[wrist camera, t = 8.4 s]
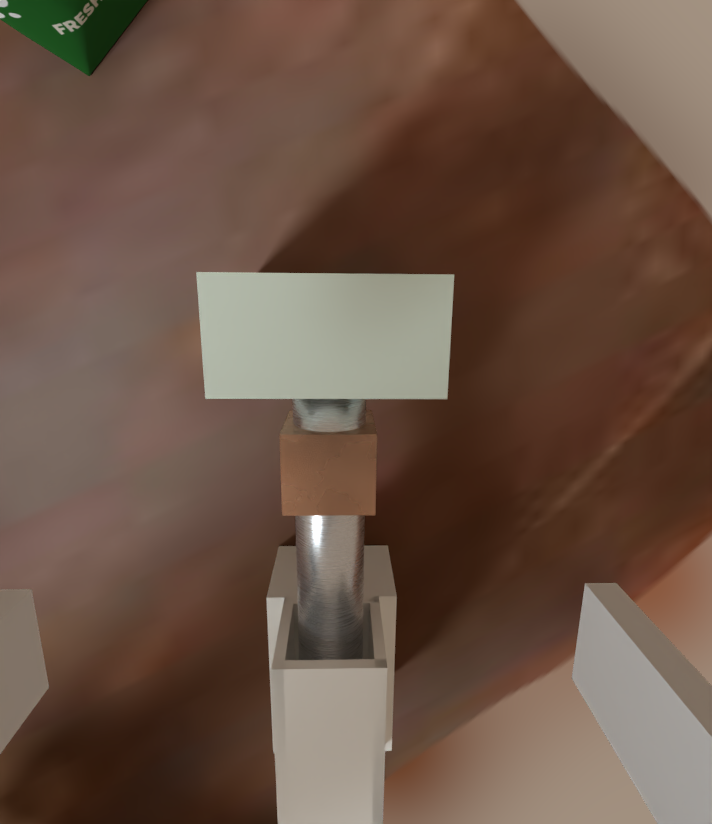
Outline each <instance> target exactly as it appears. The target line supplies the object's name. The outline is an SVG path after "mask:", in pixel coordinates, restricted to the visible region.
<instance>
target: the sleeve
mask: <svg viewBox="0 0 712 824" xmlns="http://www.w3.org/2000/svg"><path fill="white" fill-rule="evenodd" d="M266 599H267V622H268V645H269V668H270V691H271V713H272V736H273V753H275V770H276V794H277V817H278V824H383V802H384V801H383V800H384V768H385V751H392V724H393V694H394V664H395V634H396V604H397V595H396V589H395V584H394V578H393V572H392V567H391V561H390V555H389V549H388V545H373V546H364V598H363V659H351V660H299V640H298V600H297V561H296V546H279V548H278V552H277V556H276V560H275V564H274V569H273V573H272V577H271V581H270V585H269V589H268V593H267V597H266Z"/></svg>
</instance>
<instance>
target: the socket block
mask: <svg viewBox="0 0 712 824" xmlns="http://www.w3.org/2000/svg"><path fill="white" fill-rule="evenodd" d="M196 274H197V288H198V302H199V316H200V330H201V344H202V358H203V372H204V386H205V399H447V395H448V378H449V360H450V342H451V325H452V307H453V289H454V275H451V274H340V273H229V272H196Z"/></svg>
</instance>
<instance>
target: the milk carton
mask: <svg viewBox="0 0 712 824" xmlns="http://www.w3.org/2000/svg"><path fill="white" fill-rule="evenodd" d="M146 2H147V0H0V19H1V20H2V21H4V22H5V23H7V24H8V25H10V26H11V27H13V28H14V29H16V30H17V31H19V32H20V33H22V34H23V35H25V36H26V37H28V38H30V39H31V40H33V41H34V42H36V43H37V44H39V45H41V46H42V47H44V48H45V49H47V50H49V51H50V52H52V53H53V54H55V55H57V56H58V57H60V58H61V59H63V60H65V61H66V62H68V63H69V64H71V65H73V66H74V67H76V68H77V69H79V70H81V71H82V72H84V73H85V74H87V75H88V76H90V75H91V73H92V72H93V71H94V70H95V68H96V67H97V66H98V64H99V63H100V62H101V60H102V59H103V58H104V56H105V55H106V54H107V53H108V51H109V50H110V49H111V47H112V46H113V45H114V43H115V42H116V41H117V40H118V38H119V37H120V36H121V34H122V33H123V32H124V30H125V29H126V28H127V26H128V25H129V24H130V23H131V21H132V20H133V19H134V17H135V16H136V15H137V13H138V12H139V11H140V9H141V8H142V7H143V6H144V4H145V3H146Z"/></svg>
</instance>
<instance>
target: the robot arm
mask: <svg viewBox="0 0 712 824" xmlns="http://www.w3.org/2000/svg"><path fill="white" fill-rule="evenodd" d="M572 679H573V681H574V683H575V685H576V686H577V688H578V690H579V691H580V693H581V695H582V697H583V698H584V700H585V702H586V703H587V705H588V707H589V708H590V710H591V712H592V714H593V715H594V717H595V719H596V720H597V722H598V724H599V725H600V727H601V729H602V731H603V732H604V734H605V736H606V737H607V739H608V741H609V742H610V744H611V746H612V747H613V749H614V751H615V753H616V754H617V756H618V757H619V759H620V761H621V763H622V764H623V766H624V768H625V769H626V771H627V773H628V775H629V776H630V778H631V780H632V781H633V783H634V785H635V786H636V788H637V790H638V791H639V793H640V795H641V796H642V798H643V800H644V802H645V803H646V805H647V807H648V809H649V810H650V812H651V814H652V815H653V817H654V819H655V820H656V822H657V824H712V686H711V685H710V683H709V682H708V681H707V680H706V679H705V678H704V677H703V676H702V675H701V674H700V673H699V672H698V670H697V669H696V668H695V667H694V666H693V665H692V664H691V663H690V662H689V661H688V660H687V659H686V658H685V656H684V655H683V654H682V653H681V652H680V651H679V650H678V649H677V648H676V647H675V646H674V645H673V644H672V642H671V641H669V639H668V638H667V637H666V636H665V635H664V634H663V633H662V632H661V631H660V630H659V628H658V627H657V626H656V625H655V624H654V623H653V622H652V621H651V620H650V619H649V618H648V617H647V616H646V614H644V613H643V611H642V610H641V609H640V608H639V607H638V606H637V605H636V604H635V603H634V602H633V601H632V599H631V598H630V597H629V596H628V595H627V594H626V593H625V592H624V591H623V590H622V589H621V588H620V587H619V585H618V584H617V583H585V588H584V595H583V602H582V609H581V616H580V623H579V630H578V638H577V645H576V652H575V659H574V667H573V673H572ZM48 688H49V685H48V679H47V673H46V668H45V662H44V657H43V651H42V645H41V640H40V634H39V629H38V623H37V617H36V612H35V606H34V601H33V595H32V589H22V590H0V754H1V752H2V751H3V750H4V748H5V747H6V746H7V744H8V743H9V741H10V740H11V739H12V737H13V736H14V735H15V733H16V732H17V730H18V729H19V728H20V726H21V725H22V724H23V722H24V721H25V720H26V718H27V717H28V715H29V714H30V713H31V711H32V710H33V709H34V707H35V706H36V704H37V703H38V702H39V700H40V699H41V698H42V696H43V695H44V693H45V692H46V691H47V689H48Z"/></svg>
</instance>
